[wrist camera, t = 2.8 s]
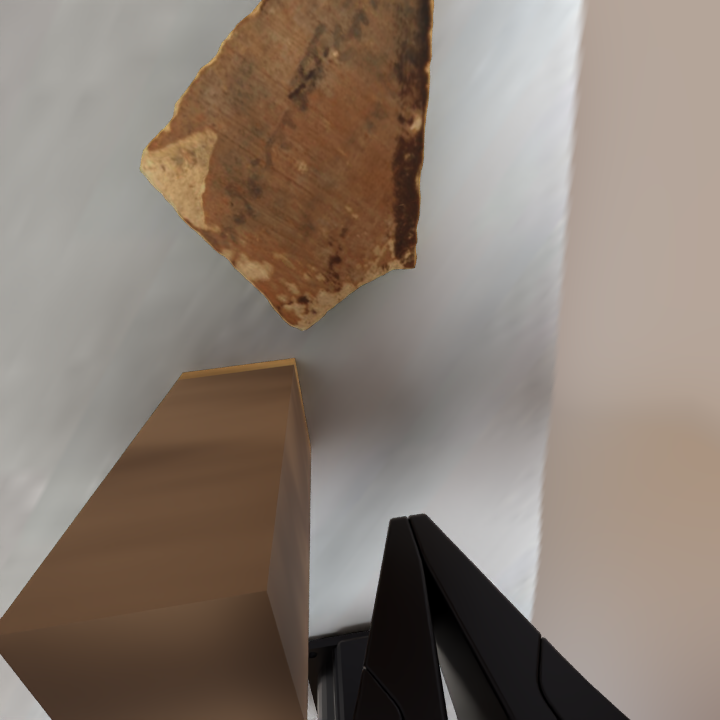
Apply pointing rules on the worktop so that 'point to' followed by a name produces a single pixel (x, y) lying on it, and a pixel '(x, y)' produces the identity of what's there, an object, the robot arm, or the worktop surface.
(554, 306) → the worktop surface
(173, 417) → the walnut block
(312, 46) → the shard
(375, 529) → the worktop surface
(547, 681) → the robot arm
